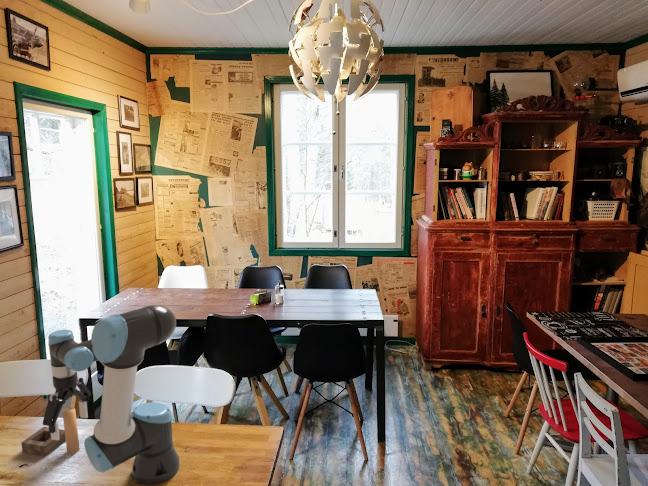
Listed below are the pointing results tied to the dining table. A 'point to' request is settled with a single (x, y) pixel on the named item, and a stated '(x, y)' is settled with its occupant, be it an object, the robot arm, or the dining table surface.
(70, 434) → the peg
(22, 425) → the dining table surface
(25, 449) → the socket block
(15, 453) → the dining table surface
